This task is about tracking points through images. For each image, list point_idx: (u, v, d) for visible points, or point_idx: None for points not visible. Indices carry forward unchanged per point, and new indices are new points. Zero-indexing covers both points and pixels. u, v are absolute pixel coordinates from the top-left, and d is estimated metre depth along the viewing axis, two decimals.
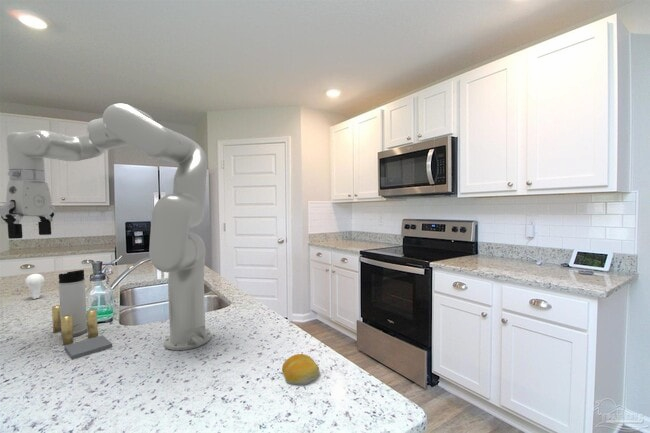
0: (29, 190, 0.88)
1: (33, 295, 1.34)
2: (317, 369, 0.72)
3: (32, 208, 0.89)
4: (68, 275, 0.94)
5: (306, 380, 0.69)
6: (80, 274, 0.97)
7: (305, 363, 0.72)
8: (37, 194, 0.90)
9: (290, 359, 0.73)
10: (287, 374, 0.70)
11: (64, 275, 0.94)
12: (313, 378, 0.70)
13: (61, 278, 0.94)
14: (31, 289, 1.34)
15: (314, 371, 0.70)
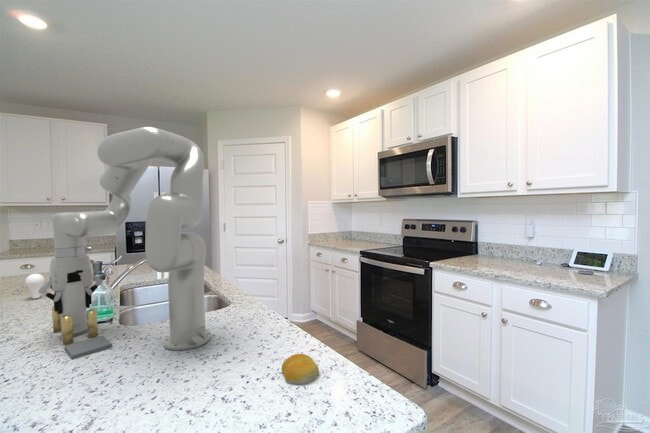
0: None
1: (33, 295, 1.34)
2: (316, 369, 0.72)
3: None
4: (68, 275, 0.95)
5: (306, 380, 0.69)
6: None
7: (305, 362, 0.72)
8: None
9: (290, 359, 0.73)
10: (287, 374, 0.70)
11: None
12: (313, 378, 0.70)
13: None
14: (31, 289, 1.34)
15: (314, 370, 0.71)
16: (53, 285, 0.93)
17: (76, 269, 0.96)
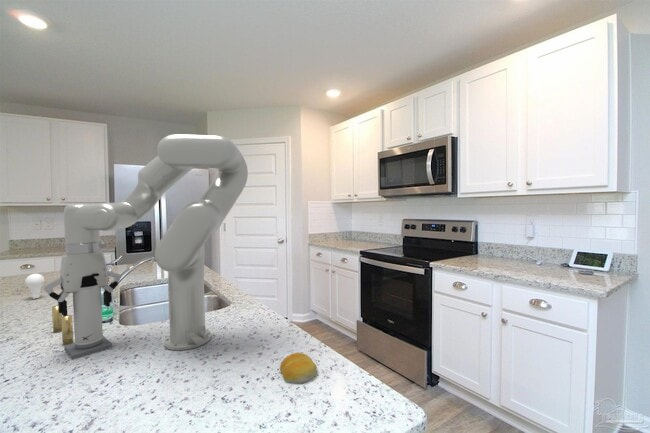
0: None
1: (33, 295, 1.34)
2: (315, 368, 0.72)
3: None
4: (83, 279, 0.85)
5: (304, 378, 0.69)
6: None
7: (303, 361, 0.72)
8: None
9: (288, 358, 0.74)
10: (285, 373, 0.70)
11: None
12: (311, 376, 0.70)
13: None
14: (31, 289, 1.34)
15: (312, 369, 0.71)
16: (64, 285, 0.82)
17: (90, 268, 0.86)
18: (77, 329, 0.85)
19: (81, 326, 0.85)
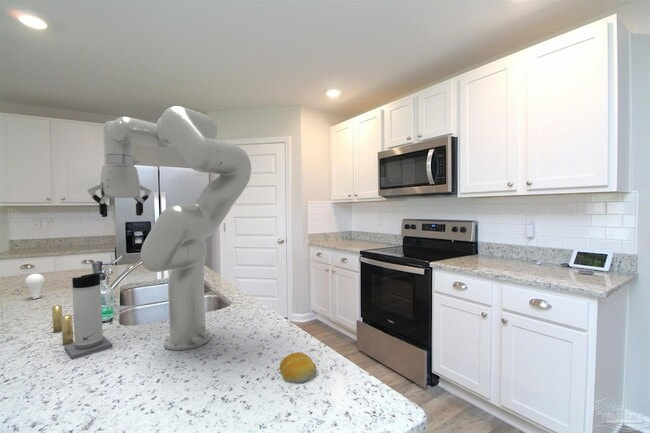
0: None
1: (33, 295, 1.34)
2: (314, 367, 0.73)
3: None
4: (83, 279, 0.85)
5: (304, 378, 0.69)
6: (96, 278, 0.87)
7: (303, 361, 0.72)
8: None
9: (288, 357, 0.74)
10: (285, 372, 0.70)
11: (79, 279, 0.84)
12: (310, 376, 0.71)
13: (75, 282, 0.84)
14: (31, 289, 1.34)
15: (312, 369, 0.71)
16: (105, 189, 0.95)
17: (126, 178, 0.99)
18: (77, 330, 0.85)
19: (81, 326, 0.85)
